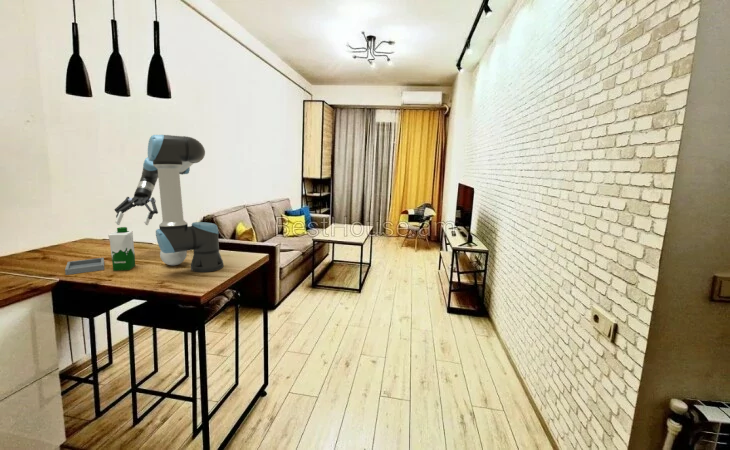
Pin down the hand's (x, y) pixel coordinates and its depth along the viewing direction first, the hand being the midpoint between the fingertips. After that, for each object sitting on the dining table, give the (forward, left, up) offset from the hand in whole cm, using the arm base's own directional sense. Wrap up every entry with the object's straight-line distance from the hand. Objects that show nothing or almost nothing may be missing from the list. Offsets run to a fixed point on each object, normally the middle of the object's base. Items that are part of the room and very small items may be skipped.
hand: (131, 223), depth 172 cm
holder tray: (0, +20, -20) cm, 29 cm away
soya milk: (-9, +5, -21) cm, 23 cm away
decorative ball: (-15, -16, -21) cm, 30 cm away
